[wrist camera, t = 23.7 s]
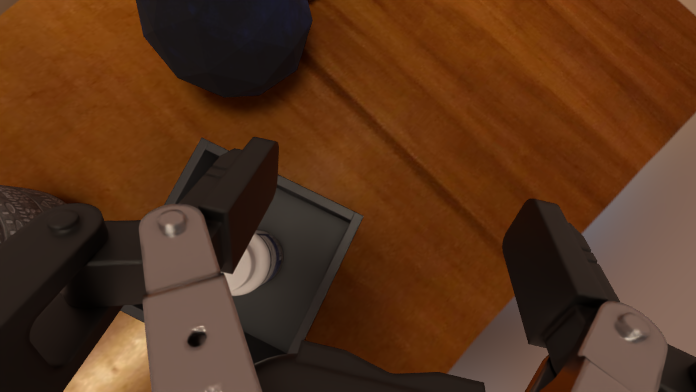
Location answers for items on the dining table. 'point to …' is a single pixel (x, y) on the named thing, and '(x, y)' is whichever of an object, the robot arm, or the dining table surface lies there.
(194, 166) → the bin
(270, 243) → the pill bottle
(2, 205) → the planter
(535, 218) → the robot arm
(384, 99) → the dining table surface
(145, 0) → the decorative orb
